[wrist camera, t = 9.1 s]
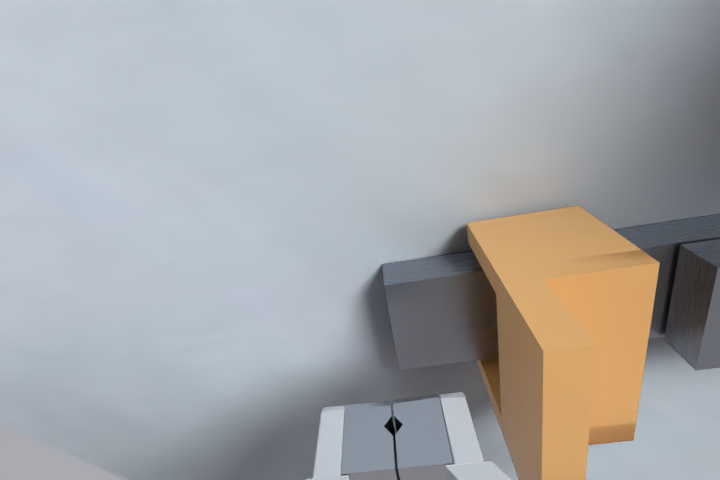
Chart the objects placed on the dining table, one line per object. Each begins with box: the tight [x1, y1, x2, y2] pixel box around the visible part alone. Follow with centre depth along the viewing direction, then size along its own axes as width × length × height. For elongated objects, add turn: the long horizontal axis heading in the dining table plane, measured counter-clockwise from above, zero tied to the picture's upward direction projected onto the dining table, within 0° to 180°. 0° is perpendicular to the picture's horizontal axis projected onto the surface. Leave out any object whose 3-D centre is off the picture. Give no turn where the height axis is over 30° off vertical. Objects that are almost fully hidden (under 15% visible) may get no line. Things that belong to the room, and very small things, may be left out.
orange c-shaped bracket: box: [467, 205, 660, 480], centre depth 10 cm, size 3×5×5 cm, turn 10°
